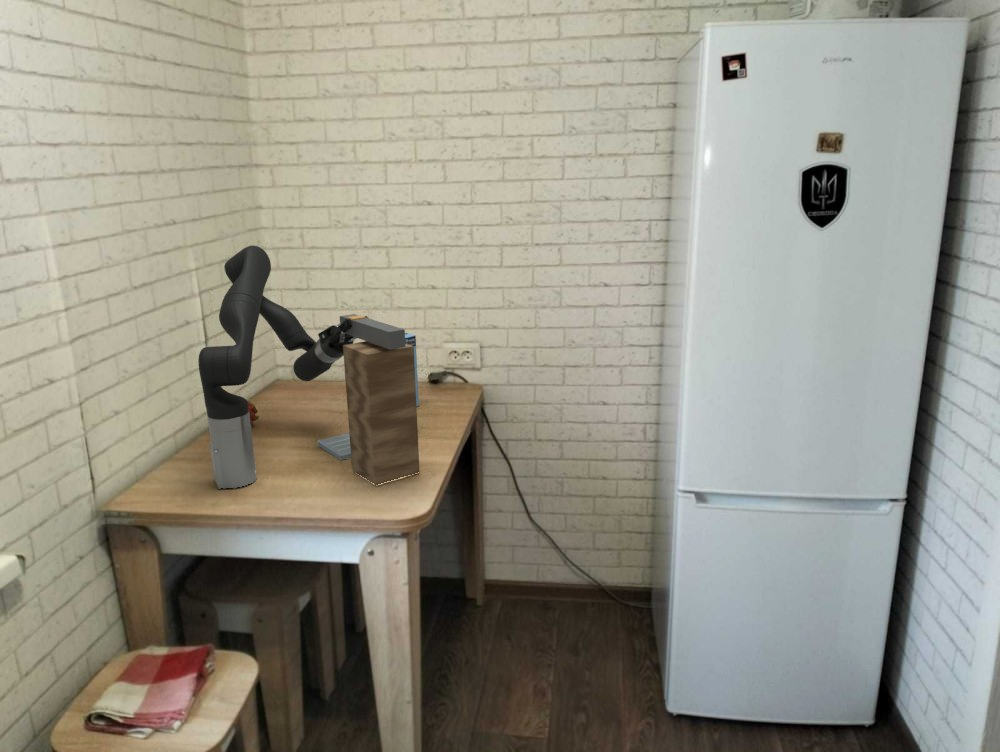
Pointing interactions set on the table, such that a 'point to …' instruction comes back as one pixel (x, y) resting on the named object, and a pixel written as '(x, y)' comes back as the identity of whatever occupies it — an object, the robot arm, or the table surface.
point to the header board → (337, 446)
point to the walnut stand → (381, 411)
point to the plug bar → (375, 332)
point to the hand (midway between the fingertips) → (358, 321)
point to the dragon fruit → (252, 413)
